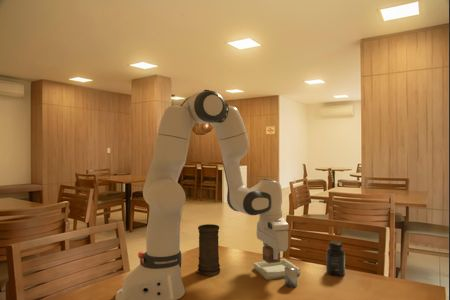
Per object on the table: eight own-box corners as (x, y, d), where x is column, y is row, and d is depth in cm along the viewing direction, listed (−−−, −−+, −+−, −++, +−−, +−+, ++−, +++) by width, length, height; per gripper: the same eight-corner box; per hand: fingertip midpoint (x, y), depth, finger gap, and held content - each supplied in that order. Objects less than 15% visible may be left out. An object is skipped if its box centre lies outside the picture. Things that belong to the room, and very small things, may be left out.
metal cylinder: (288, 288, 117) (288, 271, 117) (282, 283, 121) (282, 267, 121) (299, 286, 118) (299, 269, 118) (293, 281, 122) (293, 265, 122)
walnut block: (268, 263, 127) (268, 250, 127) (262, 259, 132) (262, 246, 132) (280, 261, 129) (280, 248, 129) (274, 257, 133) (274, 245, 133)
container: (217, 276, 127) (217, 229, 127) (194, 275, 129) (194, 228, 129) (222, 268, 136) (222, 224, 136) (201, 266, 138) (200, 223, 138)
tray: (267, 279, 124) (267, 273, 124) (253, 268, 135) (253, 262, 135) (300, 275, 129) (300, 268, 129) (284, 264, 140) (284, 258, 140)
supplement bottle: (348, 274, 129) (348, 243, 129) (336, 278, 126) (335, 246, 126) (335, 268, 135) (335, 239, 135) (322, 272, 132) (322, 241, 132)
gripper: (252, 216, 139) (252, 249, 139) (275, 227, 119) (276, 266, 120) (266, 214, 141) (266, 247, 141) (291, 225, 121) (291, 263, 122)
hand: (271, 256), depth 130 cm, fingers closed on walnut block, 5 cm apart
